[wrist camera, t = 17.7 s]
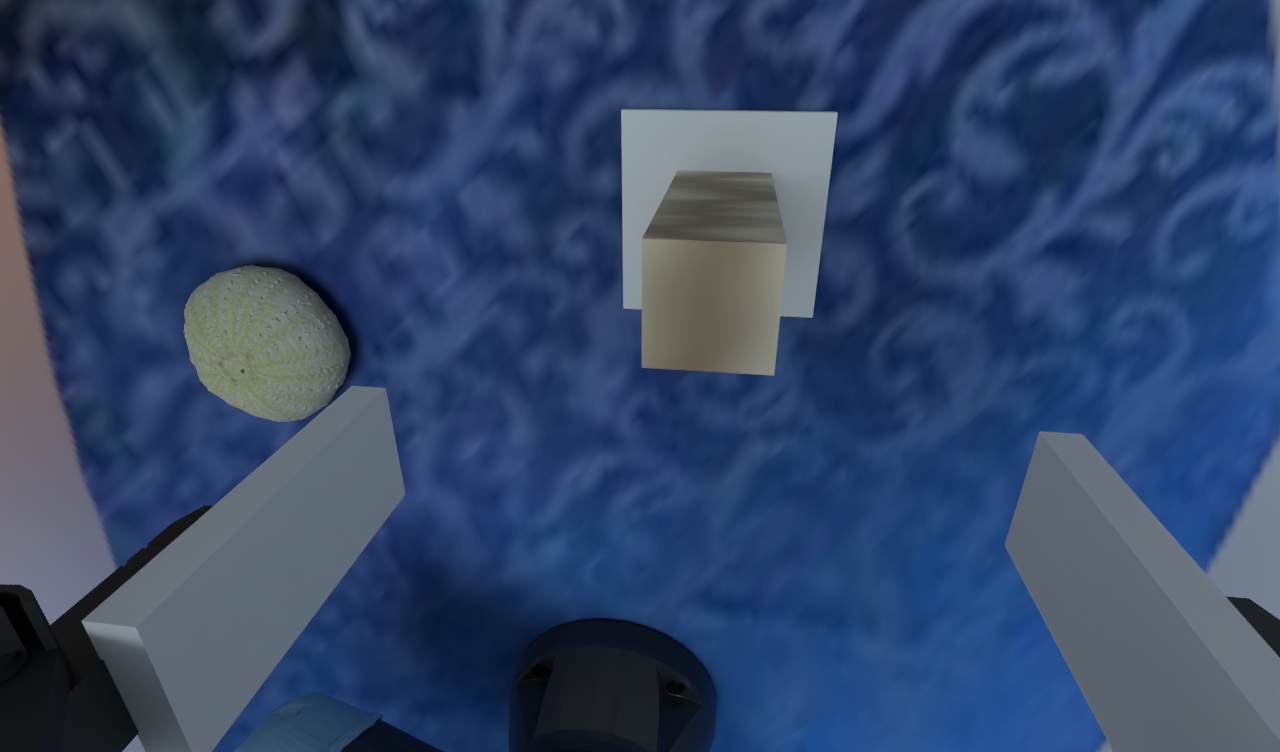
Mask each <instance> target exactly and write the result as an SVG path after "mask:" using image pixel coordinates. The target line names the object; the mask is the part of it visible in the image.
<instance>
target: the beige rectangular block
mask: <svg viewBox="0 0 1280 752" xmlns="http://www.w3.org/2000/svg"><path fill="white" fill-rule="evenodd" d="M786 253H787V240H786V236H785V231H784V227H783V222H782V218H781V214H780V209H779V205H778V200H777V196H776V192H775V187H774V183H773V179H772V174H771V173H759V172H717V171H677V172H676V174H675V176H674V178H673V180H672V182H671V184H670V186H669V188H668V190H667V192H666V194H665V195H664V197H663V199H662V201H661V203H660V205H659V207H658V209H657V211H656V213H655V215H654V217H653V218H652V220H651V222H650V224H649V226H648V228H647V230H646V232H645V234H644V236H643V238H642V368H656V369H673V370H689V371H706V372H723V373H739V374H756V375H773V376H774V373H775V363H776V353H777V343H778V333H779V323H780V313H781V303H782V293H783V283H784V273H785V263H786Z"/></svg>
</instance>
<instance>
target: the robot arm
mask: <svg viewBox="0 0 1280 752" xmlns="http://www.w3.org/2000/svg"><path fill="white" fill-rule="evenodd" d="M404 495H405V490H404V484H403V479H402V474H401V468H400V463H399V457H398V452H397V447H396V441H395V436H394V431H393V425H392V420H391V414H390V409H389V404H388V398H387V393H386V388H376V387H361V386H351V387H350V388H349V389H348V390H347V391H346V392H344V393H343V394H342V395H341V396H340V397H339V398H337V399H336V400H335V401H334V402H333V403H332V404H331V405H329V406H328V407H327V408H326V409H325V410H324V411H322V412H321V413H320V414H319V415H318V416H317V417H316V418H314V419H313V420H312V421H311V422H310V423H309V424H308V425H306V426H305V427H304V428H303V429H302V430H301V431H299V432H298V433H297V434H296V435H295V436H294V437H293V438H291V439H290V440H289V441H288V442H287V443H286V444H284V445H283V446H282V447H281V448H280V449H279V450H278V451H276V452H275V453H274V454H273V455H272V456H271V457H270V458H268V459H267V460H266V461H265V462H264V463H263V464H261V465H260V466H259V467H258V468H257V469H256V470H255V471H253V472H252V473H251V474H250V475H249V476H248V477H246V478H245V479H244V480H243V481H242V482H241V483H240V484H238V485H237V486H236V487H235V488H234V489H233V490H232V491H230V492H229V493H228V494H227V495H226V496H225V497H223V498H222V499H221V500H220V501H219V502H218V503H217V504H215V505H214V506H203V507H202V508H200V509H198V510H196V511H194V512H192V513H190V514H188V515H187V516H185V517H183V518H181V519H179V520H177V521H175V522H173V523H172V524H171V525H170V526H168V527H167V528H166V529H165V530H164V531H162V532H161V533H160V534H159V535H158V536H156V537H155V538H154V539H153V540H152V541H150V542H149V543H148V544H147V545H148V546H147V548H146V549H145V548H142V549H141V550H140V551H138V552H137V553H136V554H135V555H134V556H132V557H131V558H130V559H129V560H128V561H127V564H126V566H121V567H119V568H118V569H117V570H116V571H115V572H113V573H112V574H111V575H110V576H109V577H108V578H106V579H105V580H104V581H103V582H101V583H100V584H99V585H98V586H97V587H96V588H94V589H93V590H92V591H91V592H90V593H88V594H87V595H86V596H85V597H84V598H82V599H81V600H80V601H79V602H77V603H76V604H75V605H74V606H73V607H72V608H70V609H69V610H68V611H67V612H66V613H65V614H63V615H62V616H61V617H60V618H58V619H57V620H56V621H55V622H54V623H52V624H51V625H49V623H48V621H47V619H46V617H45V616H44V613H43V612H42V610H41V608H40V606H39V604H38V602H37V600H36V598H35V596H34V594H33V592H32V591H31V590H29V589H27V588H25V587H23V586H21V585H0V752H122V751H123V750H124V749H125V748H126V747H127V745H128V744H129V743H130V742H131V741H132V740H133V739H134V737H135V736H136V735H138V737H139V739H140V741H141V743H142V745H143V747H144V749H145V751H146V752H212V750H213V749H214V748H215V747H216V745H217V744H218V743H219V741H220V740H221V739H222V737H223V736H224V735H225V733H226V732H227V731H228V729H229V728H230V727H231V725H232V724H233V723H234V721H235V720H236V719H237V717H238V716H239V715H240V713H241V712H242V711H243V709H244V708H245V707H246V705H247V704H248V703H249V701H250V700H251V699H252V697H253V696H254V695H255V693H256V692H257V691H258V689H259V688H260V687H261V685H262V684H263V683H264V681H265V680H266V679H267V677H268V676H269V675H270V673H271V672H272V671H273V669H274V668H275V667H276V665H277V664H278V663H279V661H280V660H281V659H282V657H283V656H284V655H285V653H286V652H287V651H288V649H289V648H290V647H291V646H292V644H293V643H294V642H295V640H296V639H297V638H298V636H299V635H300V634H301V632H302V631H303V630H304V628H305V627H306V626H307V624H308V623H309V622H310V620H311V619H312V618H313V616H314V615H315V614H316V612H317V611H318V610H319V608H320V607H321V606H322V604H323V603H324V602H325V600H326V599H327V598H328V596H329V595H330V594H331V592H332V591H333V590H334V588H335V587H336V586H337V584H338V583H339V582H340V580H341V579H342V578H343V576H344V575H345V574H346V572H347V571H348V570H349V568H350V567H351V566H352V564H353V563H354V562H355V560H356V559H357V558H358V556H359V555H360V554H361V552H362V551H363V550H364V548H365V547H366V546H367V545H368V543H369V542H370V541H371V539H372V538H373V537H374V535H375V534H376V533H377V531H378V530H379V529H380V527H381V526H382V525H383V523H384V522H385V521H386V519H387V518H388V517H389V515H390V514H391V513H392V511H393V510H394V509H395V507H396V506H397V505H398V503H399V502H400V501H401V499H402V498H403V497H404ZM1005 548H1006V549H1007V551H1008V553H1009V555H1010V557H1011V559H1012V561H1013V563H1014V565H1015V567H1016V568H1017V570H1018V572H1019V574H1020V576H1021V578H1022V580H1023V582H1024V584H1025V585H1026V587H1027V589H1028V591H1029V593H1030V595H1031V597H1032V599H1033V601H1034V602H1035V604H1036V606H1037V608H1038V610H1039V612H1040V614H1041V616H1042V618H1043V620H1044V621H1045V623H1046V625H1047V627H1048V629H1049V631H1050V633H1051V635H1052V637H1053V638H1054V640H1055V642H1056V644H1057V646H1058V648H1059V650H1060V652H1061V654H1062V656H1063V657H1064V659H1065V661H1066V663H1067V665H1068V667H1069V669H1070V671H1071V673H1072V674H1073V676H1074V678H1075V680H1076V682H1077V684H1078V686H1079V688H1080V690H1081V691H1082V693H1083V695H1084V697H1085V699H1086V701H1087V703H1088V705H1089V707H1090V709H1091V710H1092V712H1093V714H1094V716H1095V718H1096V720H1097V722H1098V724H1099V726H1100V727H1101V729H1102V731H1103V733H1104V735H1105V737H1106V739H1107V741H1108V743H1109V745H1110V746H1111V748H1112V750H1113V752H1280V620H1279V619H1278V618H1276V617H1274V616H1273V615H1272V614H1270V613H1269V612H1267V611H1266V610H1264V609H1263V608H1262V607H1260V606H1259V605H1257V604H1256V603H1254V602H1253V601H1252V600H1250V599H1247V598H1235V597H1226V596H1225V595H1224V594H1223V593H1222V592H1221V591H1220V589H1219V588H1218V587H1217V586H1216V585H1215V584H1214V583H1213V582H1212V580H1211V579H1210V578H1209V577H1208V576H1207V575H1206V574H1205V572H1204V571H1203V570H1202V569H1201V568H1200V567H1199V566H1198V565H1197V563H1196V562H1195V561H1194V560H1193V559H1192V558H1191V557H1190V555H1189V554H1188V553H1187V552H1186V551H1185V550H1184V549H1183V548H1182V546H1181V545H1180V544H1179V543H1178V542H1177V541H1176V540H1175V538H1174V537H1173V536H1172V535H1171V534H1170V533H1169V532H1168V531H1167V529H1166V528H1165V527H1164V526H1163V525H1162V524H1161V523H1160V521H1159V520H1158V519H1157V518H1156V517H1155V516H1154V515H1153V514H1152V512H1151V511H1150V510H1149V509H1148V508H1147V507H1146V506H1145V504H1144V503H1143V502H1142V501H1141V500H1140V499H1139V498H1138V497H1137V495H1136V494H1135V493H1134V492H1133V491H1132V490H1131V489H1130V487H1129V486H1128V485H1127V484H1126V483H1125V482H1124V481H1123V479H1122V478H1121V477H1120V476H1119V475H1118V474H1117V473H1116V472H1115V470H1114V469H1113V468H1112V467H1111V466H1110V465H1109V464H1108V462H1107V461H1106V460H1105V459H1104V458H1103V457H1102V456H1101V455H1100V453H1099V452H1098V451H1097V450H1096V449H1095V448H1094V447H1093V445H1092V444H1091V443H1090V442H1089V441H1088V440H1087V439H1086V438H1085V436H1084V435H1083V434H1072V433H1057V432H1042V431H1039V434H1038V437H1037V441H1036V444H1035V447H1034V450H1033V454H1032V457H1031V460H1030V464H1029V467H1028V470H1027V473H1026V477H1025V480H1024V483H1023V487H1022V490H1021V493H1020V496H1019V500H1018V503H1017V506H1016V510H1015V513H1014V516H1013V519H1012V523H1011V526H1010V529H1009V532H1008V536H1007V539H1006V542H1005ZM382 717H383V715H381V714H379V713H376V712H375V713H371V714H370V713H367V712H365V711H363V710H360V709H358V708H356V707H353V706H351V705H348V704H346V703H344V702H341V701H339V700H337V699H334V698H332V697H330V696H327V695H324V694H321V693H306V694H302V695H298V696H296V697H294V698H291V699H290V700H288V701H286V702H285V703H283V704H282V705H281V706H279V707H278V708H277V709H276V710H274V711H273V712H272V713H271V714H270V715H269V716H268V717H267V718H266V719H265V720H264V721H263V722H262V723H261V724H260V725H259V726H258V727H257V728H256V729H255V730H254V731H253V732H252V733H251V734H250V736H249V737H248V738H247V739H246V740H245V741H244V742H243V743H242V744H241V745H240V746H239V747H238V748H237V749H236V751H235V752H444V751H441V750H439V749H437V748H435V747H433V746H431V745H429V744H427V743H425V742H423V741H421V740H419V739H417V738H415V737H413V736H411V735H409V734H407V733H406V732H404V731H402V730H400V729H398V728H396V727H394V726H392V725H390V724H388V723H386V722H384V721H382V720H381V718H382ZM715 721H716V696H715V691H714V687H713V684H712V682H711V680H710V678H709V676H708V674H707V672H706V671H705V669H704V668H703V667H702V665H701V664H700V663H699V662H698V661H697V660H696V658H694V657H693V656H692V655H691V654H690V653H689V652H688V651H687V650H686V649H684V648H683V647H682V646H680V645H679V644H677V643H676V642H674V641H673V640H671V639H669V638H667V637H666V636H664V635H662V634H659V633H657V632H655V631H653V630H650V629H647V628H644V627H641V626H638V625H634V624H630V623H625V622H619V621H610V620H588V621H579V622H574V623H569V624H565V625H562V626H559V627H557V628H554V629H552V630H550V631H548V632H546V633H544V634H543V635H541V636H540V637H539V638H537V639H536V640H535V641H534V642H533V643H532V644H531V645H530V646H529V647H528V648H527V650H526V651H525V653H524V654H523V656H522V658H521V661H520V663H519V666H518V669H517V672H516V674H515V677H514V680H513V683H512V686H511V691H510V698H509V752H709V751H710V748H711V746H712V742H713V738H714V733H715Z"/></svg>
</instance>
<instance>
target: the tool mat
mask: <svg viewBox="0 0 1280 752" xmlns="http://www.w3.org/2000/svg"><path fill="white" fill-rule="evenodd" d="M837 115H838V112H834V111H757V110H680V109H622V110H621V126H622V224H623V308H624V309H642V238H643V236H644V234H645V232H646V230H647V228H648V226H649V224H650V222H651V220H652V218H653V217H654V215H655V213H656V211H657V209H658V207H659V205H660V203H661V201H662V199H663V197H664V195H665V194H666V192H667V190H668V188H669V186H670V184H671V182H672V180H673V178H674V176H675V174H676V172H677V171H717V172H759V173H771V174H772V179H773V183H774V187H775V192H776V196H777V200H778V205H779V209H780V214H781V218H782V222H783V227H784V231H785V236H786V240H787V253H786V263H785V273H784V283H783V293H782V303H781V313H780V316H786V317H806V318H813V311H814V303H815V295H816V287H817V278H818V270H819V262H820V254H821V246H822V238H823V230H824V221H825V213H826V205H827V197H828V189H829V181H830V172H831V164H832V156H833V148H834V140H835V132H836V124H837Z"/></svg>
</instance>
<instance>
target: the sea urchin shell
mask: <svg viewBox="0 0 1280 752" xmlns="http://www.w3.org/2000/svg"><path fill="white" fill-rule="evenodd" d="M185 306H186V308H185V309H184V310H185V311H184V315H185V316H184V317H185V325H184V331H183V332H184V333H185V335H184V337H185V338H186V341H187V344H188V350H189V353H190V360H191V363H193V364H194V365H195V367H196V369H197V373H198V376H199V378H200V381H202V382H203V384H204V385H205V386H206V387H207V389H208V391H210V392H212V393H214V394H215V395H217V396H219V397H221V398H222V399H224V400H225V401H226V402H227V403H228V404H229V405H232V406H234V407H237V408H239V409H241V410H243V411H246V412H248V413H249V414H252V415H254V416H256V417H261V418H265V419H270V420H273V421H276V422H289V421H295V420H298V419H304V418H307V417H308V416H309V415H311V414H313V413H315V412H316V411H317V410H319V409H320V408H322V407H323V406H327V403H328V402H329V401H331V399H332V398H333V396H334V394H335V393H336V391H337V389H338V388H339V387H340V386H341V385H342V384H343V380H345V379H346V373H347V371H348V369H347V368H348V364H349V360H350V358H351V352H350V348H349V343H348V338H347V337H346V335H345V333H344V331H343V330H342V327H341V325H340V323H339V321H338V320H337V316H336V315H334V314H333V313H332V311H331V310H330V309H329V308H328V307H327V306H326V304H325V303H324V302H323V300H322V299H321V298H320V297H319V295H318V293H316V292H314V291H313V290H312V289H311V288H309V287H308V286H307V285H305V284H304V283H303V282H302V281H301V280H300V279H299V278H298V277H297V276H295V275H292V274H290V273H288V272H286V271H283V270H282V269H278V268H267V267H258V266H254V265H250V266H244V267H238V268H236V269H232V270H229V271H225V272H220V273H216V274H215V275H214V276H213V277H211V278H210V279H209V280H208V281H207V282H205V283H203V284H202V285H200V286H198V287H197V288H196V289H195V291H194V292H193V293H192V294H191V296H190V298H189V300H188V302H187V304H186V305H185Z"/></svg>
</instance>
